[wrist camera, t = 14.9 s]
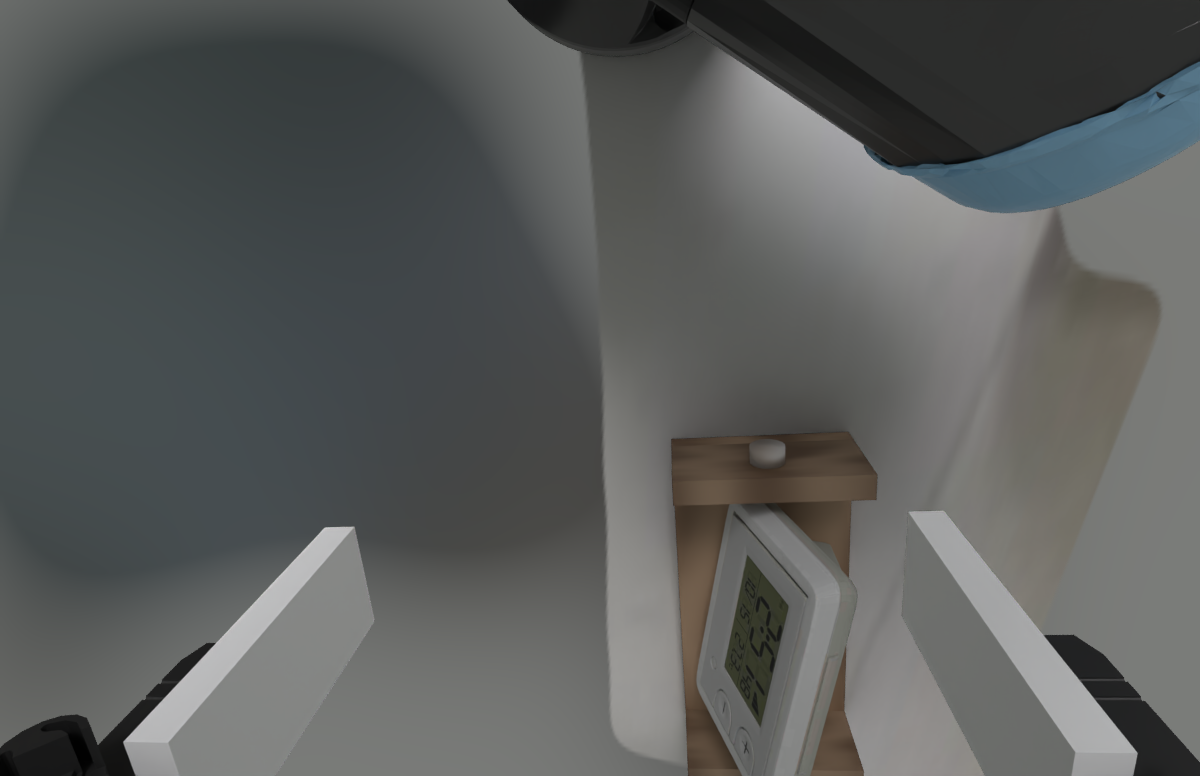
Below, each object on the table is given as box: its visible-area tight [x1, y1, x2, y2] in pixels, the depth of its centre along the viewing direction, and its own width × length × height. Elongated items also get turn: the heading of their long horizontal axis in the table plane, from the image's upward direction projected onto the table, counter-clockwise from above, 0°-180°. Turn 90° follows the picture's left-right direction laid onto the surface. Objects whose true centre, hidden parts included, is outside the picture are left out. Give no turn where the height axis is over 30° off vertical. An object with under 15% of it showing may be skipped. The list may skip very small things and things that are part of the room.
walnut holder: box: [671, 432, 877, 776], centre depth 43 cm, size 11×24×6 cm, turn 5°
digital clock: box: [696, 503, 857, 776], centre depth 40 cm, size 16×9×11 cm, turn 162°
